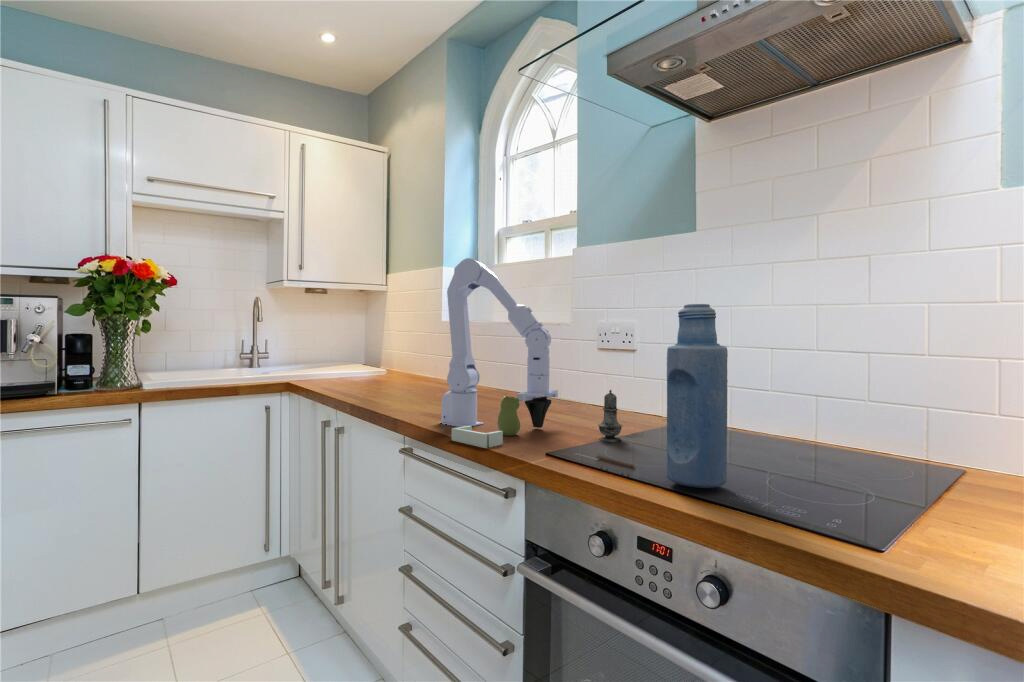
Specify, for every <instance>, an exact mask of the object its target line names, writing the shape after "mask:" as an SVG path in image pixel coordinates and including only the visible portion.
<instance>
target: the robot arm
mask: <svg viewBox="0 0 1024 682" xmlns="http://www.w3.org/2000/svg"><path fill="white" fill-rule="evenodd" d="M453 270H454V271H453V275H452V278H451V281H450V282H449V286H448V287H447V290H446V294H447V295H446V296H447V307H448V308H447V309H448V317H449V329H450V330H449V331H450V343H451V344H450V345H451V354H452V355H451V356H452V357H451V359H450V362H449V363H448V364H449V370H448V373H447V376H446V382H447V385H448V387H449V388H450V389H449V390H448V391H446V392H445V393H444V395H443V396H442V398H441V421H439V422H438V423H439V424H440V423H442V424H441V425H445V424H447V425H446V426H450V425H451V427H455V428H457V427H464V426H472V427H474V426H481V425H484V424H485V423H484V422H482V421H478V420H477V419H478V389H477V386H478V384H479V382H480V378H481V375H480V373H479V372H480V371H478V369H477V367H476V360H475V359H474V357H473V353H472V342H471V341H472V340H471V329H470V319H469V318H470V317H469V307H468V305H469V304H468V297H469V296H470V295H471V294H472V293H473V292H474V291H475V290H476V289H477V288H480V287H482V288H485V289H488V290H489V291H490V292H491V294H492V295H493V296H494V297H495V298H496V299H497V300H498V301H499V303H500V304H501V305H502V306H503V307H504V308H505V309H506V311H507V313H508V315H507V319H508V321H509V323H511V325H512V326H513V327H514V328H515V330H516V332H518V333H519V334H520V336H521V337H522V338H524V340H525V341H524V343H525V344H526V348H527V366H526V367H527V377H526V387H527V388H526V391H522V392H518V393H516V398H517V399H519V402H524V405H526V408H527V411H528V412H529V414H530V415H529V416H530V419H531V422H532V427H533V428H537V429H539V428H543V426H544V422H545V418H546V415H547V411H548V409H549V407H550V406H551V405H552V399H551V398H558V397H559V395H558V394H559V390H557V389H550V348H549V347H550V345H551V342H552V337H551V334H550V333H549V330H548V329H546V328H543V326H544V324H543V323H542V322H540V321H538V320H537V318H536V317H535V316H534V314H533V313H532V312H533V310H532V308H531V307H529V306H526V305H525V304H518V302H517V301H516V300H515V299H514V297H513V296H512V294H511V293H510V292H509V290H508V289H507V288H506V286H505V285H504V283H502V281H501V280H500V279H499V277H498V276H497V275H496V273H494V272H493V271H492V270H491V269H489V267H488V266H487V265H486V264H485V263H482V262H480V261H478V260H476V259H474V258H472V257H467V258H464V259H462V260H461V261H460V262H459V263H458V264H456V266H455V267H454V269H453ZM549 398H550V399H549Z"/></svg>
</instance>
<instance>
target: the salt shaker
mask: <svg viewBox="0 0 1024 682" xmlns="http://www.w3.org/2000/svg"><path fill="white" fill-rule="evenodd" d="M603 397H604V399H603V400H604V401H603V404H604V407H602V410H603V419H602V422H601V423H598V424H597V426H598V430H599V433H600V434H601V435H603V436H601V437H600V438H598V440H599V441H601V442H605V443H618V442H621V441H622V439H621V438H620V437H619V434H620V433H621V431H622V428H623V424H621V423H619V422H618V421H619V420H618V411H619V408H618V407H617V401H618V399H617V397H618V396H617V395H616V394H614V393H613V392H612V389H610V390H609V391H608V393H606V394H605V395H604V396H603ZM617 436H618V437H617Z"/></svg>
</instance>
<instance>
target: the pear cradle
mask: <svg viewBox="0 0 1024 682" xmlns="http://www.w3.org/2000/svg"><path fill="white" fill-rule="evenodd" d="M472 427H473V426H464V427H452V428H451V441H453V442H457V443H462V444H466V445H470V446H475V447H478V448H483V449H488V447H489V448H494V447H497V446H501V445H503V443H504V440H503V439H504V435H503V431H499V430H496V431H490V432H480V431H475V430H473V428H472ZM493 446H494V447H493Z"/></svg>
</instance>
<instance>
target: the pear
mask: <svg viewBox="0 0 1024 682" xmlns="http://www.w3.org/2000/svg"><path fill="white" fill-rule="evenodd" d="M519 407H520V401H519V399H517V397H514V396H508V395H504V396H503V399H502V400H501V403H500V411H499V412H498V415H497V428H498V431H503V437H504V436H506V437H514V436H516V435H518V433H519V431H520V430H521V421H520V419H519V416H518V409H519Z"/></svg>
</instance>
